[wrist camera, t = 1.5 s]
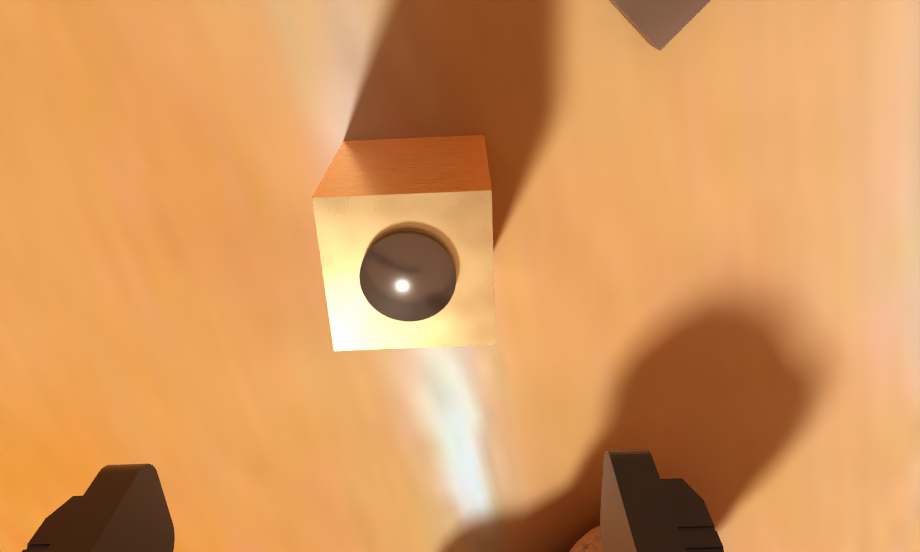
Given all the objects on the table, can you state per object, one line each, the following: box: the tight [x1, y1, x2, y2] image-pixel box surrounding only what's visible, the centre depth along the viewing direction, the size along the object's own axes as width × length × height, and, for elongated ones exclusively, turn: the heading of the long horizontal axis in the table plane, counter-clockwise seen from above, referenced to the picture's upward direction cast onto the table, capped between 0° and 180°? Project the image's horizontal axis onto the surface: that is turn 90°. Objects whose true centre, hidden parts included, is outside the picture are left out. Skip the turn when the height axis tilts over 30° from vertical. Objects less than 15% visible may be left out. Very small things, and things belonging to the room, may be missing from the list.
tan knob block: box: [312, 135, 496, 351], centre depth 23 cm, size 5×5×6 cm
